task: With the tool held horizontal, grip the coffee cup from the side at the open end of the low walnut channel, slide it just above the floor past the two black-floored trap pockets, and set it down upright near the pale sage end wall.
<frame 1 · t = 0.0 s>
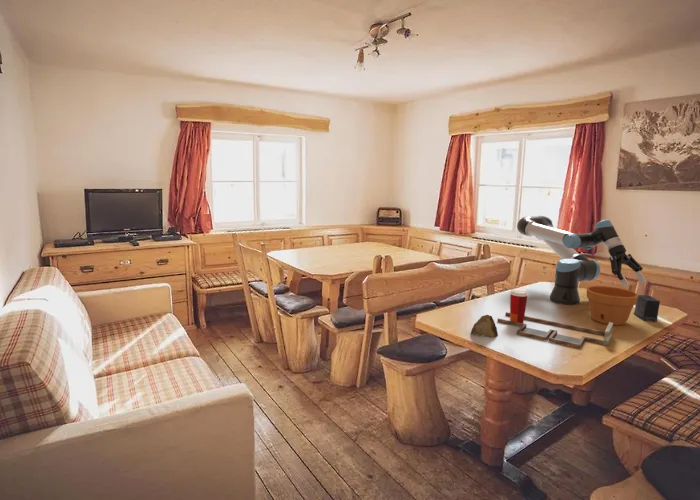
hand: (634, 284, 214), 15 cm above the table, tool tilted 35°, fingers open, 13 cm apart
flower pot: (608, 320, 205), on the table
coffee cup: (516, 321, 202), on the table
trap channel: (550, 328, 193), on the table
small box: (645, 318, 210), on the table
rock: (483, 335, 185), on the table
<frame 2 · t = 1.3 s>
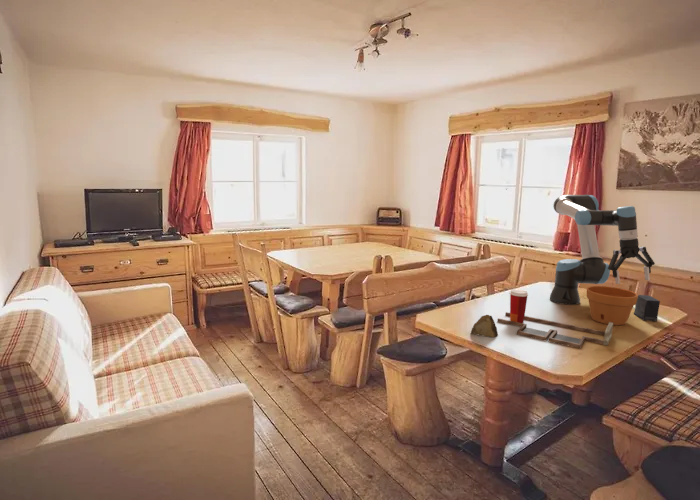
hand: (632, 282, 204), 19 cm above the table, tool pointing down, fingers open, 13 cm apart
nothing on the table moved.
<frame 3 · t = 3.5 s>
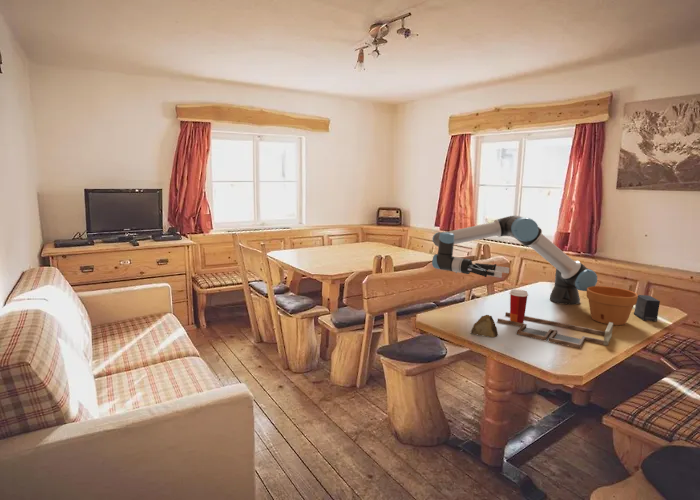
hand: (505, 272, 202), 23 cm above the table, tool horizontal, fingers open, 13 cm apart
nothing on the table moved.
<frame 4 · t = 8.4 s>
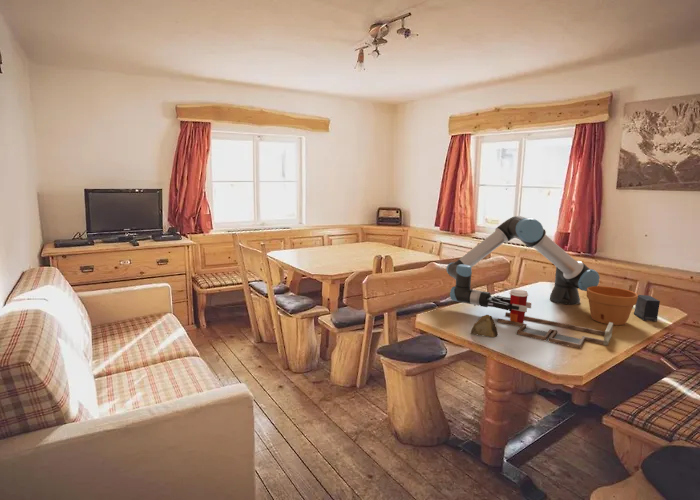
hand: (528, 307, 198), 8 cm above the table, tool horizontal, fingers closed on coffee cup, 7 cm apart
coffee cup: (516, 321, 202), on the table, touching gripper
everything else where it was.
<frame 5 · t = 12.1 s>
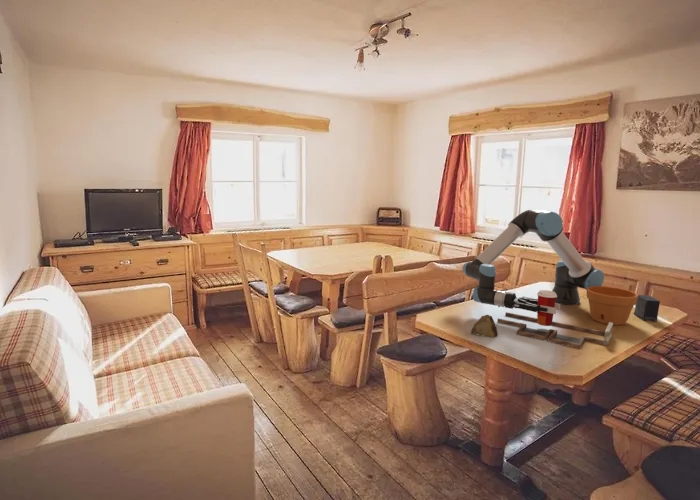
hand: (557, 309, 188), 10 cm above the table, tool horizontal, fingers closed on coffee cup, 7 cm apart
coffee cup: (544, 324, 193), point 2 cm above the table, touching gripper
everything else where it was.
when the fingers open (9 cm above the table, at t = 16.1 s): coffee cup stays where it is, on the table.
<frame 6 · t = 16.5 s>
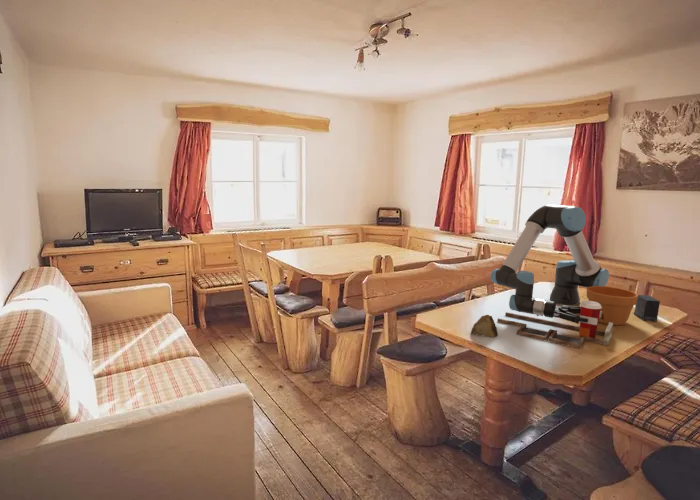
hand: (599, 318, 181), 9 cm above the table, tool horizontal, fingers open, 11 cm apart
coffee cup: (587, 336, 184), on the table
everything else where it was.
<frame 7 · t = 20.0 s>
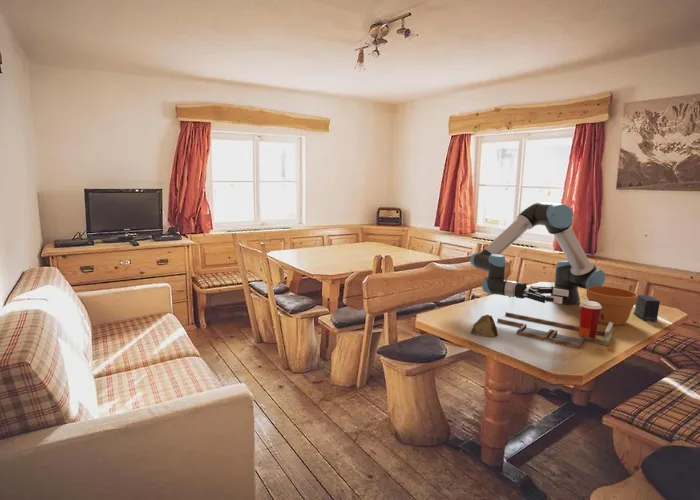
hand: (565, 297, 187), 16 cm above the table, tool horizontal, fingers open, 13 cm apart
nothing on the table moved.
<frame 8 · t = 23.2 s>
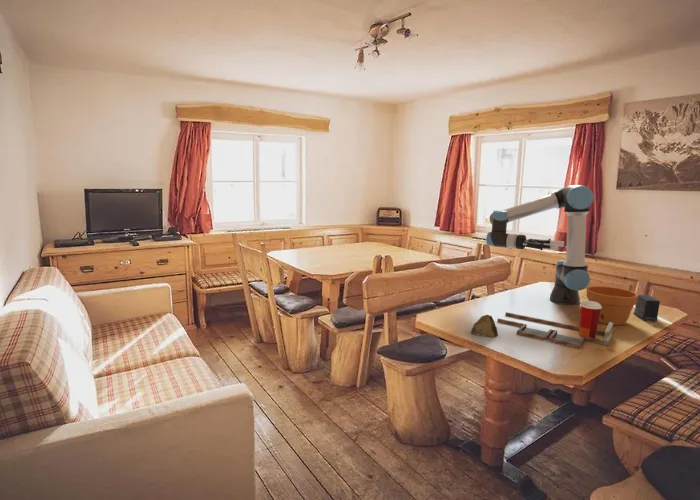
hand: (561, 245, 209), 35 cm above the table, tool horizontal, fingers open, 13 cm apart
nothing on the table moved.
at the end: coffee cup inside the target area (0.5 cm from its centre), on the table; coffee cup tilted 0°; the gripper is holding nothing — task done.
